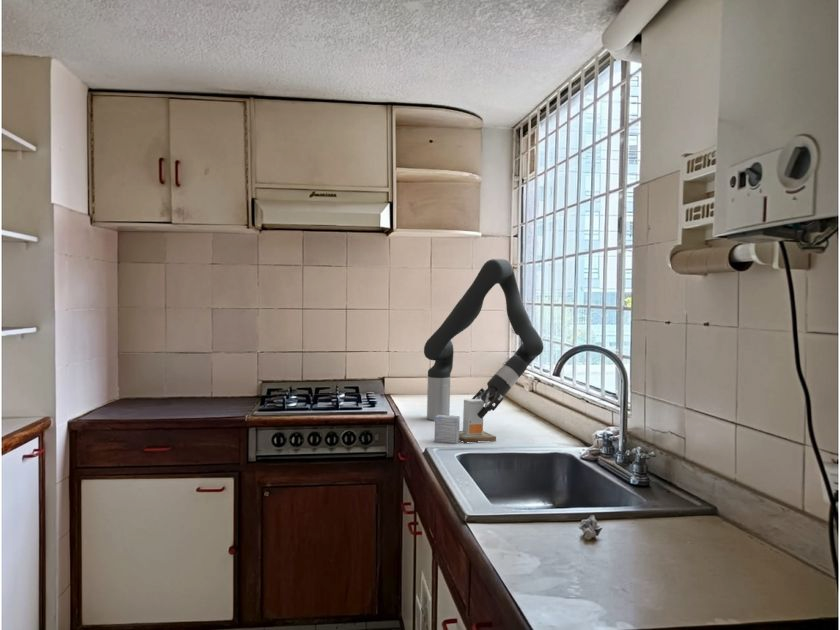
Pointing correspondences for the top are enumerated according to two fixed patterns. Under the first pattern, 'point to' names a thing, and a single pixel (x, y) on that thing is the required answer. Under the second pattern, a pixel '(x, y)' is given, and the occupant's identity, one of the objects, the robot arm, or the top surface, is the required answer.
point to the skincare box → (472, 417)
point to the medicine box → (447, 428)
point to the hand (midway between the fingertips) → (473, 414)
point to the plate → (476, 437)
